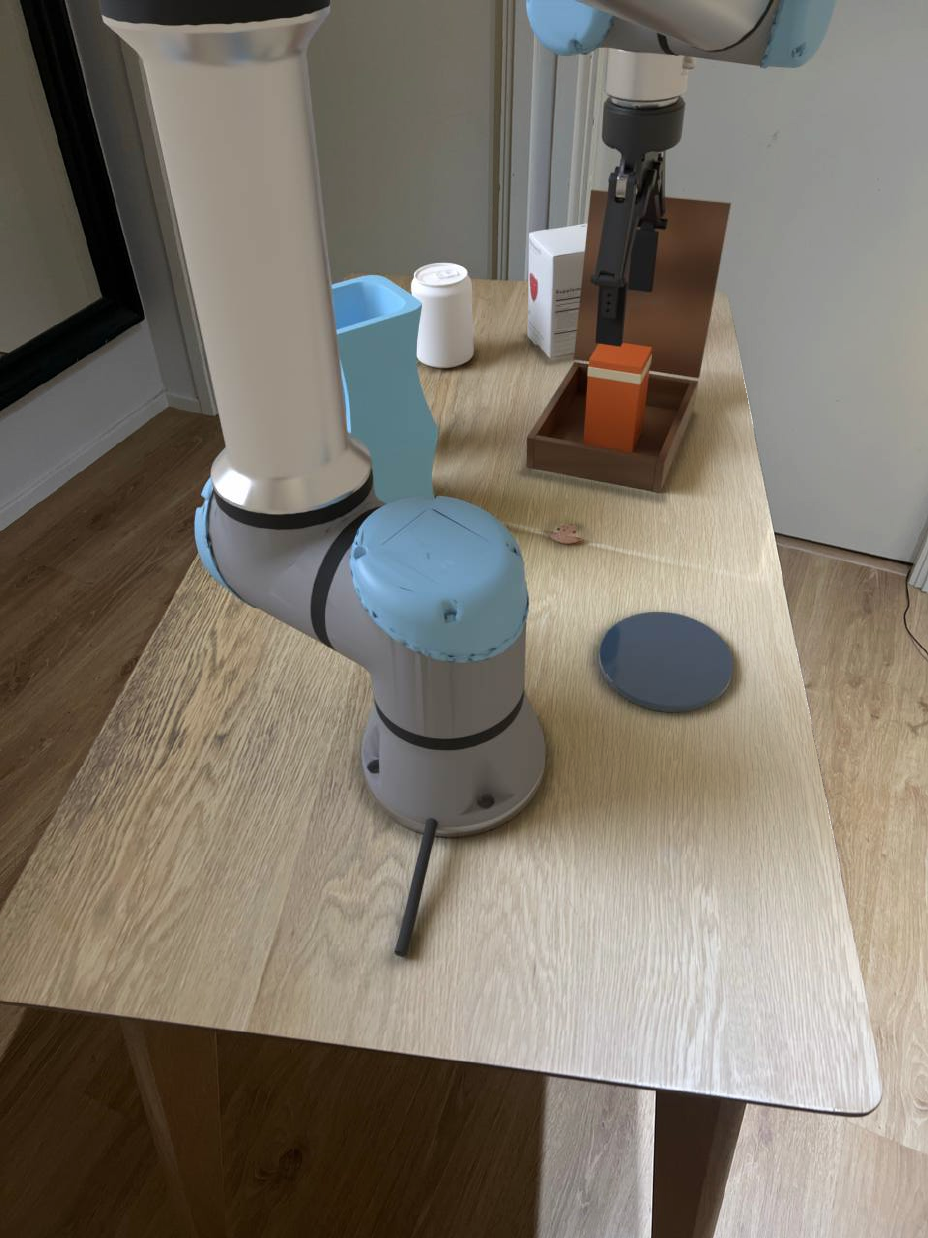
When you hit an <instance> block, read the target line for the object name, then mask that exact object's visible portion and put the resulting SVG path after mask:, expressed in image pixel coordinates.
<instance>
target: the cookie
mask: <svg viewBox="0 0 928 1238" xmlns="http://www.w3.org/2000/svg"><path fill="white" fill-rule="evenodd" d="M576 530H577V525H575V524H573V523H565V524H562V525H561V526H558V527H556V531H557V532H555V531H547V534H548V535H549V538H551V539H552V540H553V541H555V542H557V543H561V544H566V545H567V544H575V543H578V542H580V541H582V540H583V538H582V537H577V536H572V535H574V534H576V532H577V531H576Z"/></svg>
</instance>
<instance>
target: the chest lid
mask: <svg viewBox="0 0 928 1238" xmlns="http://www.w3.org/2000/svg"><path fill="white" fill-rule="evenodd" d="M607 197H608V190H607V189H606V190H605V189H596V188H592V189H591V190H590V196H589V204H588V214H587V234H586V244H585V254H584V263H583V273H582V283H581V293H580V303H579V313H578V323H577V333H576V343H575V352H574V353H573V360H576V361H581V362H589V359H590V357H591V356H592V354H593V352H594V351H595V349H596V347H597V346H598V343H595V339H596V325H597V310H598V295H599V286H596V285H594V284H593V283H591V275H595V270H596V264H597V258H598V252H599V246H600V240H601V234H602V228H603V222H604V216H605V210H606V204H607ZM619 200H621V199H619ZM731 207H732V202H731V201H720V200H711V199H699V198H690V197H679V196H678V197H677V196H671V195H670V196H669V195H665V209H666V211H665V214H664V216H663V217H661V218H665V219H668V222H667V227H666V230H661V229H655V231H658V232H659V236H658V245H657V254H656V263H655V272H654V281H653V290H652V292H644V291H636V290H628V287H627V298H626V309H625V320H624V331H623V342H622V343H627V344H634V345H641V346H648V347H652V354H651V355H652V358H651V364H650V371H649V372H653V373H654V372H655V373H661V374H668V375H675V376H681V377H688V378H694V379H699V378H700V377H701V372H702V371H701V370H702V366H703V361H704V355H705V349H706V344H707V339H708V333H709V329H710V322H711V317H712V312H713V306H714V301H715V296H716V295H715V294H716V290H717V284H718V278H719V274H720V268H721V263H722V256H723V251H724V247H725V241H726V236H727V230H728V224H729V219H730V213H731V209H732V208H731ZM637 229H639V230H640V227H637ZM630 259H631V256H630ZM629 270H630V261H629V265H628V270H627V274H626V282H628V281H629ZM607 272H608V271H607ZM610 273H613V272H610Z"/></svg>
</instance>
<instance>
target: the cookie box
mask: <svg viewBox="0 0 928 1238" xmlns="http://www.w3.org/2000/svg"><path fill="white" fill-rule="evenodd" d="M651 354H652V347H648V346H641V345H634V344H627V343H622V345H621V347H619V346H612V345H605V344H598V346H597V347H596V349H595V351H594V352H593V354H592V356H591V357H590V359H589V361H588V364H589V366H588V384H587V398H586V413H585V428H584V444H589V445H594V446H600V447H605V448H611V449H616V450H622V451H627V452H633V450H634V448H635V445H636V443H637V441H638V439H639V437H640V435H641V433H642V429H643V421H644V412H645V404H646V396H647V387H648V379H649V374H650V372H651V371H650V364H651V358H652V355H651Z"/></svg>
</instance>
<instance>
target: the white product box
mask: <svg viewBox="0 0 928 1238" xmlns="http://www.w3.org/2000/svg"><path fill="white" fill-rule="evenodd" d="M587 224H588V222H586V223H582V224H575V225H571V226H570V225H569V226H563V227H557V228H550V229H541V230H536V231H532V232H529V233H528V281H527V285H528V286H527V288H528V289H527V292H528V293H527V294H528V295H527V300H528V301H527V337H528V339H530V341H531V342H532V343H533V344H534V345H535V346H539V348H540V349H541V350H542V351H543V352H544V354H546V356H547V357H548V358H555V357H562V356H567V355H572V354H573V355H574V352H575V343H576V333H577V323H578V313H579V303H580V293H581V283H582V273H583V263H584V254H585V244H586V234H587Z"/></svg>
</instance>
